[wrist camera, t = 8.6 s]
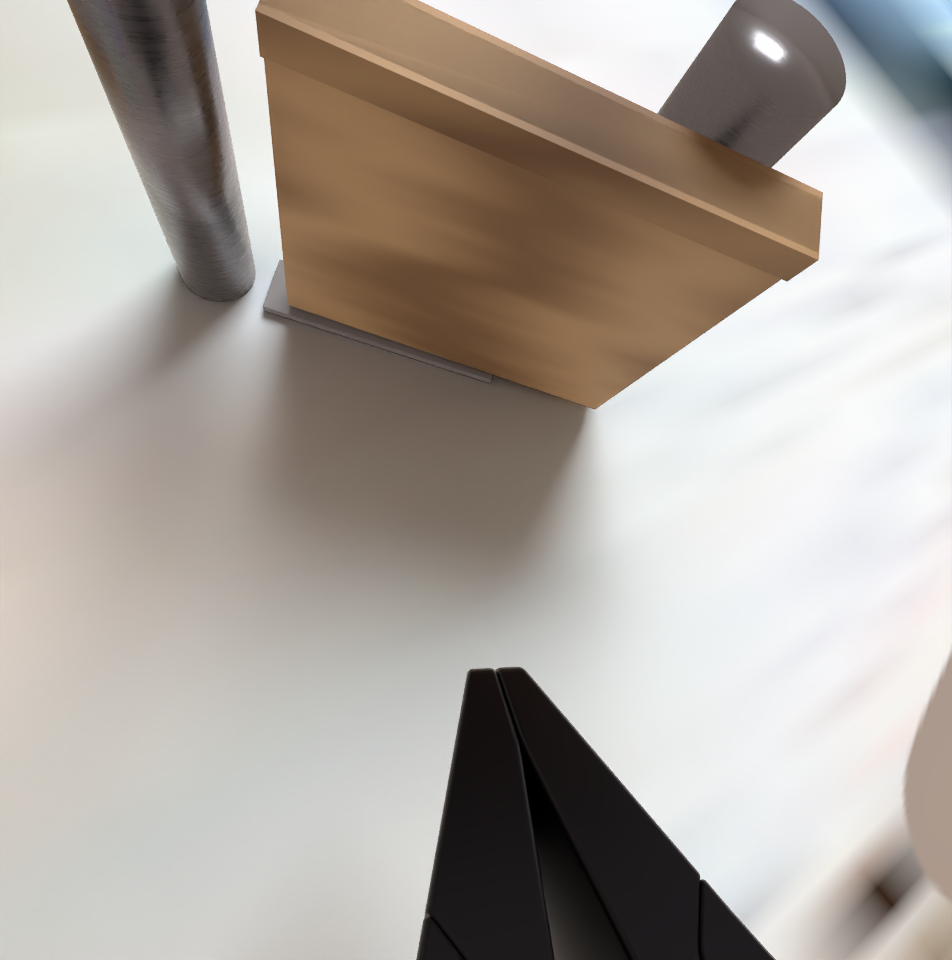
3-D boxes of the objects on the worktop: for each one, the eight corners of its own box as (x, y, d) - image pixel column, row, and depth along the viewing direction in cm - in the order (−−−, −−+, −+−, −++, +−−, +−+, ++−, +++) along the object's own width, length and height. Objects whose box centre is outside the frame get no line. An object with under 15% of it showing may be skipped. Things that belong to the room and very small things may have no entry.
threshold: (499, 339, 18) (501, 335, 18) (489, 383, 18) (491, 380, 17) (280, 264, 17) (279, 259, 16) (263, 310, 16) (262, 306, 16)
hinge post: (270, 276, 16) (208, -161, 7) (214, 314, 16) (64, -111, 6) (221, 226, 16) (93, -283, 7) (163, 263, 16) (-65, -245, 6)
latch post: (597, 334, 19) (867, 74, 10) (554, 376, 18) (803, 137, 9) (548, 283, 19) (773, -29, 10) (503, 323, 18) (701, 26, 9)
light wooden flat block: (285, 309, 16) (255, 9, 8) (302, 265, 16) (288, -62, 8) (594, 413, 18) (818, 260, 10) (601, 372, 18) (822, 192, 10)
